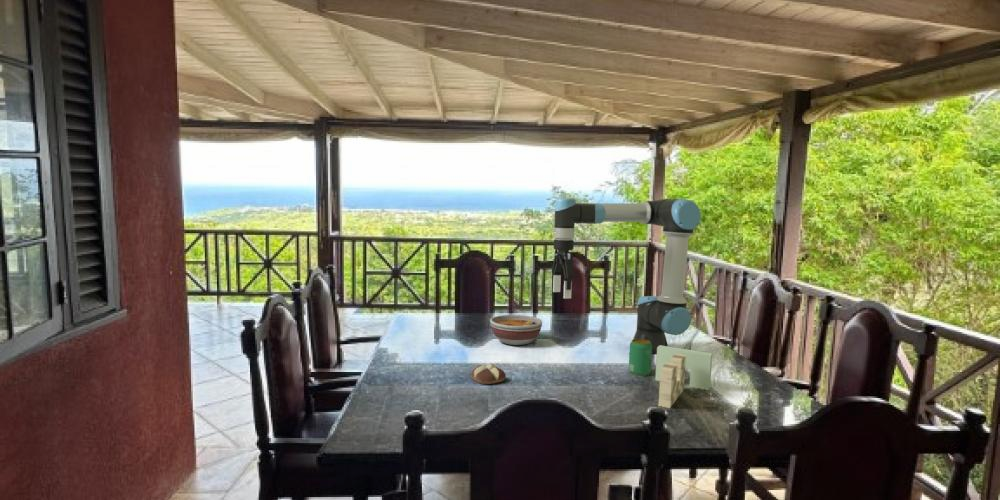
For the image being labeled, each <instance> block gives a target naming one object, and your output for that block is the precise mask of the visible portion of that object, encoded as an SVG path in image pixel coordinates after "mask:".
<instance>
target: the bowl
mask: <svg viewBox="0 0 1000 500" xmlns="http://www.w3.org/2000/svg"><path fill="white" fill-rule="evenodd" d="M489 322H490V328H491V331H492V333H493V335H494V336H495V338H497V340H499V341H500V342H501V343H502V344H505V345H509V346H510V345H511V346H525V345H528V344H530V343H532V342H533V341H534V340H535V339H536V338H537V337H538V336H539V334H540V333H541V330H542V327H543V320H542V319H540V318H538V317H535V316H532V315H531V316H530V315H523V314H503V315H497V316H493V317H491V318H489Z"/></svg>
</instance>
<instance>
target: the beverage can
mask: <svg viewBox="0 0 1000 500" xmlns="http://www.w3.org/2000/svg"><path fill="white" fill-rule="evenodd" d="M628 355H629V356H628V371H629V373H630V374H631V375H634V376H637V377H638V376H639V377H647V375H648V376H649V375H650V374H651V370H652V359H653V358H652V355H653V354H652V344H651V342H650V341H648V340H644V339H633V338H632V340H631V342H630V343H629V353H628Z"/></svg>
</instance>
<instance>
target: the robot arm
mask: <svg viewBox="0 0 1000 500" xmlns="http://www.w3.org/2000/svg"><path fill="white" fill-rule="evenodd" d="M554 202H555V204H554V226H553V227H554V229H553V230H552V233H553V238H554V240H553V249H554V257H553V263H552V268H551V273H552V275H553V284H552V285H553V286H552V287H553V288H552V293H561V282H562V281H563V282H564V283H563V299H572V290H573V288H572V286H573V285H572V284H573V283H572V282H573V281H574V280H575V274H574V264H573V254H572V253H570V251H574V247H575V245H574V244H575V240H574V238H575V224H583V225H584V224H592V225H598V224H602V223H604V222H605V223H611V222H612V223H613V222H614V223H616V222H617V223H619V222H620V223H624V222H625V223H626V222H627V223H629V222H631V223H632V222H633V223H634V222H636V223H641V225H642V224H643V225H654V226H660V227H662V233H663V234H664V235H665V238H666V239H665V246H664V249H665V250H664V261H663V270H662V271H663V272H662V283H661V293H660V295H658V296H657V295H656V296H654V295H653V296H652V295H646V296H645V295H644V296H640V297H638V301H637V314H636V315H637V317H636V318H637V319H636V331H635V333H634V336H633V338H632V340H633V339H644V340H648V341H650V342H651V344H652V353H654V354H655V355H657V347H658V346H659V345H661V346H668V347H669V344H668V340H667V338H666V334H667V335H672V336H679V335H682V334H683V333H685V332H686V331H687V330H688V329H689V327H690V326H691V322H692V315H691V313H690V311H689V309H687V305H688V303H687V302H688V301H687V300H686V299H685V297H684V293H685V283H686V275H687V273H686V272H687V261H688V253H689V251H688V250H689V239H690V238H691V236H693V235H694V229H695V228H697V226H698V225H699V224H700V221H701V218H702V214H701V209H700V207H699V206H698V205H697V203H696V202H694V201H693V200H691V199H686V198H664V199H658V200H657V199H656V200H648V201H647V200H644V201H642V202H641V203H635V202H633V203H625V202H624V203H623V202H622V203H621V202H619V203H614V202H613V203H612V202H611V203H608V202H607V203H603V202H602V203H599V202H596V203H595V202H592V203H591V202H588V203H587V202H586V203H583V202H576V198H575V197H572V198H571V197H558V198H556V199H555V201H554ZM562 270H563V275H564V279H563V280H562V279H561V277H562ZM561 280H562V281H561Z"/></svg>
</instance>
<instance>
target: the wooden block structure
mask: <svg viewBox="0 0 1000 500" xmlns="http://www.w3.org/2000/svg"><path fill="white" fill-rule="evenodd" d="M685 363H686V355H681V354H674V355H673V356H672V357H671V358H670V363H666V364H665V365H664V366H663V367H662V368H661V371H660V381H659V387H658V388H659V390H658V407H661V406H662V407H663V408H667V409H671V407H672V406H673V405H674V403H675V402H676V401H677V399H678V398H679V397H680V395H681V394H682V393H683V392H684V390H685V376H686V369H685Z"/></svg>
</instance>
